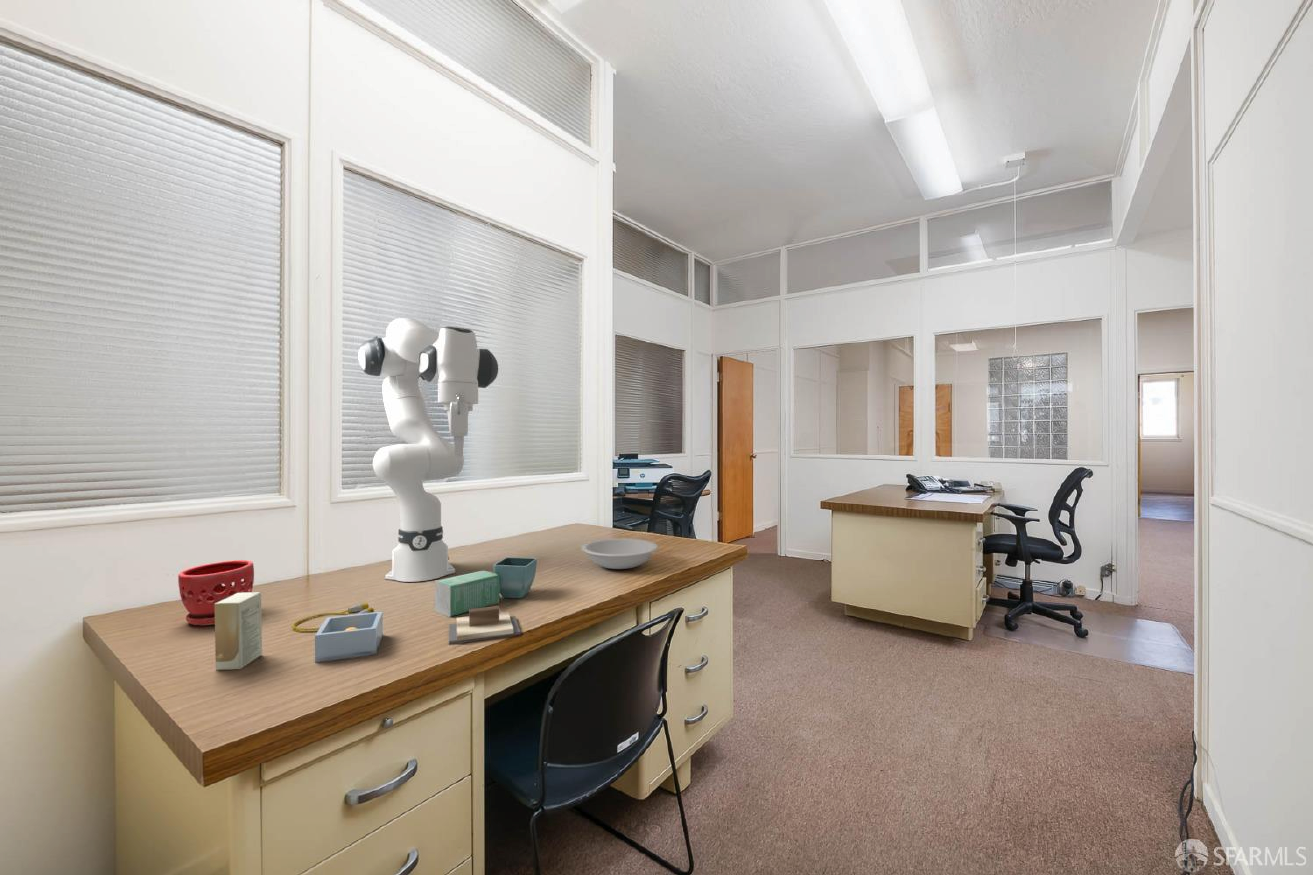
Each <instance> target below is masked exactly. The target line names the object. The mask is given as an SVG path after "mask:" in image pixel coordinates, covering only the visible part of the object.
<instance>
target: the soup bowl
mask: <svg viewBox="0 0 1313 875" xmlns="http://www.w3.org/2000/svg"><path fill="white" fill-rule="evenodd" d="M658 547H659V545H658V544H656V543H655V542H653V541H650V540H645V539H640V538H629V537H628V538H625V537H623V538H621V537H620V538H618V537H617V538H603V539H597V540H593V541H589V542H586V543H584V544H583V545H581V550H582V551H583V552H584V553H586V554H587V556H588V557H589V559H590V560H592V562H593V563H594V564H596V565H598V566H599V567H601V568H606V569H611V570H626V569H627V570H628V569H633V568H636V567H639V566H641V565H643V564H645V563H646V562H647V561H648V560H649V559H650V558H651V556H652V555H653V553H654V552H655V551H657V550H658V549H659V548H658Z"/></svg>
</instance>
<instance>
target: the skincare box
mask: <svg viewBox="0 0 1313 875" xmlns="http://www.w3.org/2000/svg"><path fill="white" fill-rule="evenodd" d="M214 605H215V624H214V645H215V646H214V648H215V650H214V651H215V652H214V654H215V670H217V671H223V670H224V671H225V670H241V669H243V668H244V667H247V665H249V664H251V662H253V661H254V660H256V659H257V658H259V657H260V656H261V655H263V640H262V639H263V636H262V635H263V628H262V626H263V624H262V593H261V591H260V592H259V591H257V592H256V591H252V592H246V593H236V594H234V595H232V596H230V597H228V598H225V599H223V600H221V601H219V602H217V603H215V604H214Z"/></svg>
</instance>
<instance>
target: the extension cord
mask: <svg viewBox="0 0 1313 875" xmlns="http://www.w3.org/2000/svg"><path fill="white" fill-rule="evenodd" d="M357 612H358V613H357ZM373 612H375V609H374V608H373V607H370V606H369V603H368V602H364V603H357V604H355V605H353V606H350V607H348V608H347V610H343V611H339V612H326V613H319V614H315V615H312V616H308V617H304V618H302V619H299V620H297V621H296V622H294V623H293V624H292V625H291V628H292V630H293V631H294V632H296V633H317V632H318V630H319V629H320V627H316V628H315V627H314V628H304V627H303V628H301V627H300V628H299V627H296V626H297V625H300V624H301V623H303V621H304V622H305V621H306V620H307V621H310V620H312V618H313V619H315V618H320V617H324V616H328V615H343V616H346V615H351V614H350V613H353V614H354V613H357V614H364V613H373ZM309 619H310V620H309Z"/></svg>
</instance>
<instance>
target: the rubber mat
mask: <svg viewBox="0 0 1313 875" xmlns="http://www.w3.org/2000/svg"><path fill="white" fill-rule="evenodd" d="M510 619H511V622H512V626H513V634H505V635H498V636H490V637H483V638H476V639H468V640H461V641H457V622H454V623H449V624H448V626H449V627H448V628H449V630H448V634H449V635H448V644H449V645H453V644H454V645H455V644H461V643H469V642H475V641H484V640H490V639H497V638H504V637H505V638H506V637H513V636H518V635H519V636H521V634H522V632H521V629H520V626H519V623H518V620H517V618H516V616H515V615H511V616H510Z"/></svg>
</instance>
